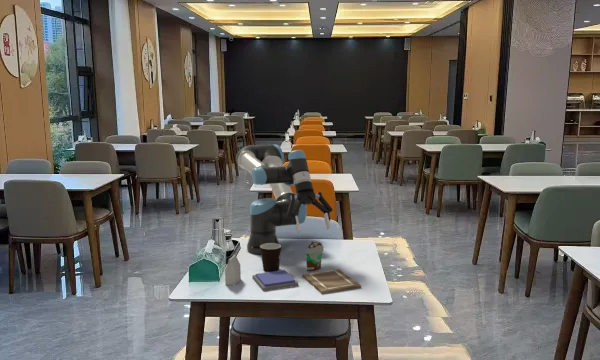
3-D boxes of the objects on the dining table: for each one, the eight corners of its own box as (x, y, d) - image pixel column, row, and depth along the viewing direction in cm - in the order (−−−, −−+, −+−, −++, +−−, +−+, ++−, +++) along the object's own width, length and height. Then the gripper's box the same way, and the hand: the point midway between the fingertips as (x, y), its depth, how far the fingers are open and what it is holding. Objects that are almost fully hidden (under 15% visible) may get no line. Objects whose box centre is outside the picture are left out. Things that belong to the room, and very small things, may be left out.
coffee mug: (275, 274, 211) (275, 250, 209) (256, 271, 214) (256, 247, 213) (288, 265, 221) (288, 242, 220) (270, 262, 225) (269, 240, 223)
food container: (321, 273, 212) (321, 249, 210) (306, 272, 213) (306, 248, 211) (325, 263, 224) (325, 240, 222) (311, 262, 225) (311, 240, 223)
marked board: (302, 276, 208) (302, 273, 208) (339, 271, 214) (339, 268, 214) (321, 293, 191) (321, 290, 191) (360, 287, 196) (360, 284, 196)
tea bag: (240, 279, 206) (240, 254, 204) (234, 285, 199) (233, 260, 198) (231, 278, 207) (231, 254, 205) (225, 284, 200) (224, 259, 198)
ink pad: (252, 278, 207) (252, 273, 206) (285, 273, 212) (285, 268, 211) (262, 290, 194) (262, 285, 193) (298, 285, 199) (298, 280, 198)
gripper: (278, 182, 219) (288, 229, 211) (332, 178, 228) (344, 223, 220) (273, 189, 226) (283, 236, 218) (326, 185, 235) (337, 230, 226)
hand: (313, 230), depth 219 cm, fingers open, 13 cm apart
